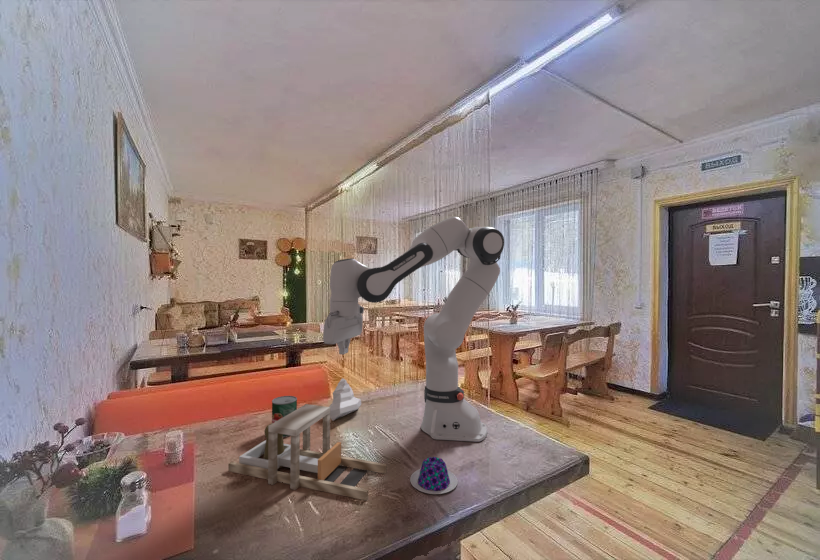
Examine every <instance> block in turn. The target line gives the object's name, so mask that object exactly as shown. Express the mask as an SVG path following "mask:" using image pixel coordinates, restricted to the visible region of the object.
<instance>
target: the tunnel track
mask: <svg viewBox="0 0 820 560" xmlns="http://www.w3.org/2000/svg"><path fill="white" fill-rule="evenodd" d="M320 420H322V452H320V451H314V450H311V427H312V426H313V425H314V424H316V423H318V421H320ZM271 423H272V422H271ZM271 423H270V424H271ZM268 425H269V424H268ZM268 425H267V426H268ZM277 433H279V434H285V435H291V436H290V445H291V464H290V472H289V473H288V472H283V471H279V470H278V469H277ZM301 433H302V448H301V446H300V440H301V439H300V436H301V435H300V434H301ZM329 449H331V418H330V407H329V406H323V405H316V404H307V403H305V404H304V405H302V406H301V407H299V408H298V407H297V410H295V411H293V412H291V413H290V414H288V415H286V416H285V417H283V418H281V419H279V420H278V421H276V422H274V423H272V424H271V425H269V426H268V469H265V468H260V467H255V466H250V465H245V464H240V463H239V462H235V461H230V462H228V463H227V464H228V469H227V470H228V472H230V473H236V474H241V475H245V476H250V477H254V478H260V479H262V480H263V479H265V480H267V484H268V485H270V484H271V486H274V485H275V484H277V483H282V482H283V483H282V484H288V485H290V486H289V487H290V488H289V489H291V490H295V491H296V490H297V489H298V488H305V489H310V490H315V491H319V492H325V493H329V494H334V495H339V496H343V497H348V498H352V499H357V500H362V501H367V500H369V489H367V488H363V487H358V486H357V485H358V483H359V482H360V481H361V480H362V478H364V476H365V475H366V473H367V472H368V471H369V472H375V473H381V474H387V471H388V469H387V468H388V464H387V463H382V462H376V461H372V460H371V461H370V460H365V459H359V458H354V457H349V456H342V455H341V463H340V464H339V465H338V466H337V467H336V468H335V469H334V470H333V471H332V472H331V473H330V474H329V475H328V476H327V477H326V478H325V480H319V479H318V478H314V477H308V476H303V475H300V470H299V463H300V455H301V456H306V457H312V458H317V459H319V458H320V457H322V456H323V455H324V454H325V453H326V452H327V451H328V450H329ZM347 468H352V469H351V470H350V471H349V473H348V474H347V475H346V476H345V477H344V478H343V479H342V481H341V482H335V481H336V480H337V479H338V478H339V477H340V476H341V474H342V473H344V471H345V470H346V469H347ZM277 481H278V482H277Z"/></svg>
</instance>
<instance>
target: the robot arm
mask: <svg viewBox="0 0 820 560" xmlns="http://www.w3.org/2000/svg"><path fill="white" fill-rule="evenodd" d="M504 247H505V237H504V235H503V233H502V232H501V231H500V230H498V229H497V228H495V227H492V226H475V227H470V228H469V227H468V226H467V224H466V223H465V222H464V221H463V220H462V219H461V218H459V217H458V216H450V217H448V218H445V219H443V220H441V221H438V222H436V223H435V224H433V225H431V226H429V227H428V228H425V230H424V231H422V232H420V234H418V236H417V237H415V239H413V241H412V243H411V246H410V247H409V248H408V250H407V251H405V252H404V253H403V254H401V255H400V256H398V257H396V258H395V259H394V260H392V261H390V262H389V263H388V264H386V265H383V266H379V267H372V268H371V267H369V266H367V265H364V264H363V263H361V262H359V261H358V260H357V259H356V258H352V257H351V258H345V259H338V260H337V261H335V262H334V263H333V264H332V266H331V268H330V274H329V275H330V276H329V286H330V287H329V289H330V293H331V294H330V299H329V313H328V315H327V317H326V318H325V321H324V323H323V333H322V341H323V343H324V344H325V345H336V344H337V347H338V354H339V355H346V354H348V353H349V346H350V344H351V339H353V338H356V337H357V336H360V335H361V334H362V331H363V322H364V318H363V317H364V316H363V314H364V311H365V310H364V309H365V308H364V307H363V306H362V305H360V304H359V298H362V299H363V300H364V301H366V302H369V303H373V304H374V303H381V302H383V301H384V300H386V299H387V298H388V297H389V296H390V295H391V293H392V291H393V290H394V288H395V286H397V284H398V283H400V282H401V281H402V280H403V279H406V278H407V277H408V276H410V275H411V274H413V273H414V272H416V271H417V270H418V269H421V268H422V267H425V266H426V267H427V266H429V265H432V264H434V263H437V262H438V261H440V260H443V259H444V258H446V257H447V256H449V255H450V254H451V253H452V252H454V251H457V253H458V254H459V255H461V256H463V258H467V259H469V265H468V266H467V269H466V270H465V271H464V273H463V274H462V276H461V277H460V279H459V280H458V281H457V283H456V284H455V285H454V286H453V288H452V289H451V291H450V293H449V294H448V295H447V298H446V301H445V303H444V305H443V307H442V308H441V310H440V312H439V313H437V312H435V313H433V314H431V315H428V317H427V318H426V319H425V320H424V324H423V340H424V341H423V342H424V355H425V386H424V392H423V396H424V398H423V399H424V403H425V404H424V412H423V417H422V421H421V425H420V429H421V430H422V431H423V433H426V434H427V435H429V436H430V437H431V438H432V439H434V440H438V441H439V440H441V441H458V442H459V441H461V442H477V443H478V442H481V441H483V440H485V439H486V438H487V435H488V426H487V425H486V423H484V422H482V421H481V417H480V416H481V415H480V412H479V411H478V409H477V408H476V407H475V406H473V405H472V404H471V403H470V402H468V401H467V400H466V399H465V389H464V388H461V387H459V362H458V359H457V352H456V350H457V349H458V348H459V347H460V346H461V345H462V344H463V342H464V339H465V334H466V332H467V331H468V328H469V326H470V324H471V322H472V320H473V318H474V316H475V314H476V312H477V311H478V310H479V308H480V307H481V305H482V304H483V302H484V301H485V299H486V298H487V297H488V296H489V294H490V293H491V291H492V289H493V288H494V286H495V284H496V282H497V280H498V278H499V276H500V273H501V267H500V266H499V264H498V263H497V262H498V261H500V259H501V255H502V253H503V251H504Z"/></svg>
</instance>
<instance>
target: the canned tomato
mask: <svg viewBox="0 0 820 560" xmlns="http://www.w3.org/2000/svg"><path fill="white" fill-rule="evenodd" d="M297 409H298V398H297V396H294V395H282V396H278V397H274V398H273V399H272V400H271V423H274V422H276V421H278V420H279V419H281V418H283V417H285V416H286V415H288V414H290V413H291V412H293V411H295V410H297ZM287 437H291V435H285V434H283V439H284V438H287Z"/></svg>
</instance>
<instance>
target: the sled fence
mask: <svg viewBox="0 0 820 560" xmlns="http://www.w3.org/2000/svg"><path fill="white" fill-rule="evenodd" d="M265 446H266V440H264V441H261V442H260V443H258V444H257V445H255V446H254V447H253V448H250V449H249V450H247V451H246V452H244V453H243V454H241V455H240V456H238V457H239V458H238V463H240V464H245V465H250V466H255V467H260V468H265V469H268V460H266V459H264V458H260V457H261V456H264V453H265ZM341 456H342V442H339V441H337V442H336V443H335V444H333V446H332V447H330V449H329V450H328V451H327V452H326V453H325V454H324V455H323V456H322V457H320V458H319V459H317V458H312V457H306V456H301V455H300V463H299V471H300V470H301V471H304V472H305V471H306V472H309V473H316V474H317V479H319V480H325V478H326V477H327V476H328V475H329V474H330V473H331V472H332V471H333V470H334V469H335V468H336V467H337V466H338V465H339V464H340V463H341ZM290 464H291V444H288V443H284V452H283V453H282V454H280V455H277V470H279V469H280V468H279V467H280V466H283V467H285V468H290ZM278 468H279V469H278Z"/></svg>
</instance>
